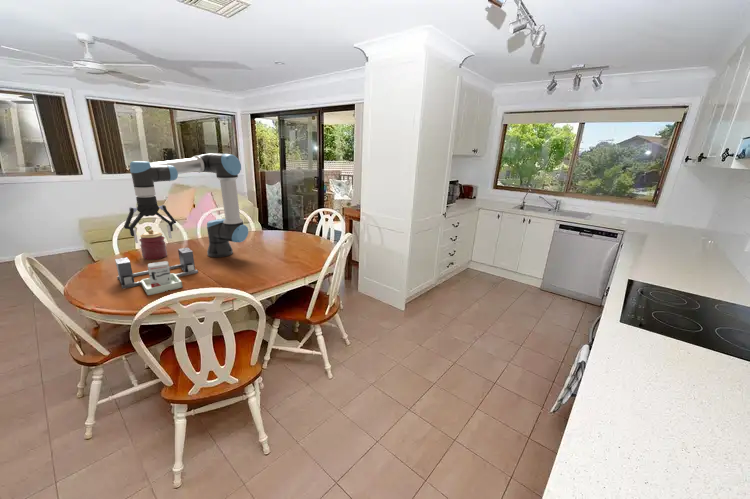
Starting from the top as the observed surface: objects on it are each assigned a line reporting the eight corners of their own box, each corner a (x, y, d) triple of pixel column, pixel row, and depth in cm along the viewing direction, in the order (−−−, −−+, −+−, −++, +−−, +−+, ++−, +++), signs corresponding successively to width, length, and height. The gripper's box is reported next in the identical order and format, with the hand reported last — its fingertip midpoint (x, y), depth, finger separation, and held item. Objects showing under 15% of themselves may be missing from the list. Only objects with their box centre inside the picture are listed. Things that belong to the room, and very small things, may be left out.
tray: (174, 278, 166) (174, 272, 165) (182, 287, 156) (181, 281, 155) (141, 285, 156) (140, 279, 155) (147, 295, 146) (146, 289, 146)
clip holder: (190, 265, 185) (187, 246, 181) (198, 272, 175) (195, 252, 171) (117, 279, 162) (112, 257, 158) (122, 288, 152) (117, 266, 148)
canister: (144, 261, 187) (138, 233, 182) (141, 255, 196) (136, 228, 191) (169, 257, 195) (164, 230, 190) (165, 252, 204) (161, 226, 199)
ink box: (151, 289, 152) (147, 266, 148) (151, 285, 156) (147, 263, 152) (172, 285, 157) (168, 263, 153) (171, 282, 160) (167, 260, 157)
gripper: (174, 193, 153) (181, 234, 160) (109, 196, 136) (120, 242, 143) (179, 195, 148) (185, 237, 155) (112, 199, 131) (122, 246, 138)
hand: (154, 240), depth 149 cm, fingers open, 13 cm apart
